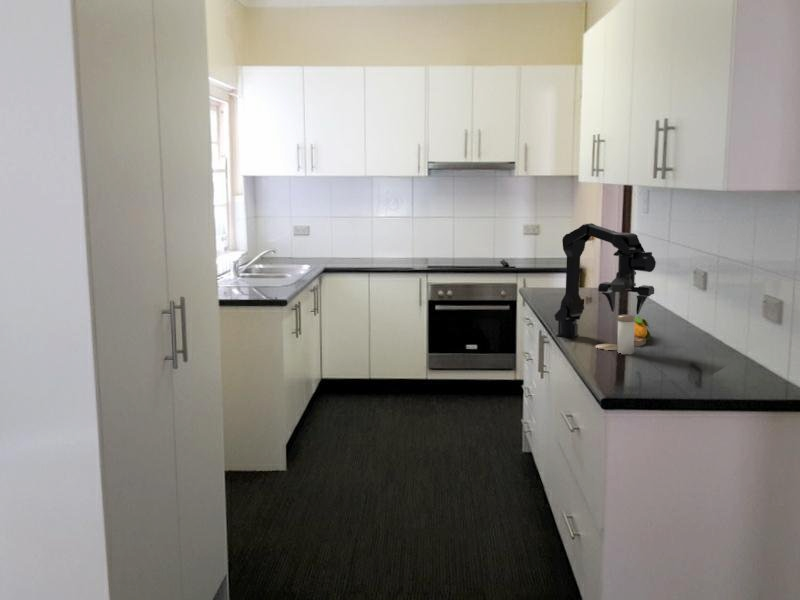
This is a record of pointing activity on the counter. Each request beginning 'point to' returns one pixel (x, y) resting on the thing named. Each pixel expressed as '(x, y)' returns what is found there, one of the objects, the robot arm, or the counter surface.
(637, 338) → the tile
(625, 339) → the jar
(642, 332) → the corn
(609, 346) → the coaster
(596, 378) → the counter surface
